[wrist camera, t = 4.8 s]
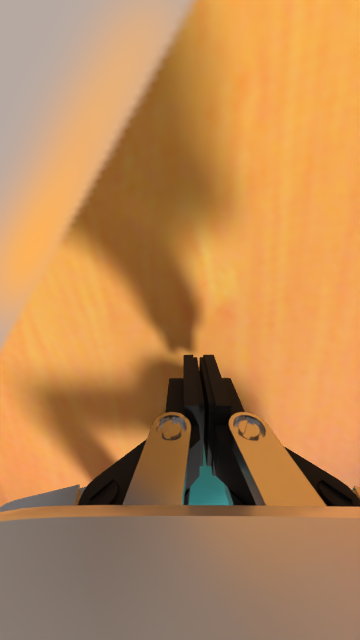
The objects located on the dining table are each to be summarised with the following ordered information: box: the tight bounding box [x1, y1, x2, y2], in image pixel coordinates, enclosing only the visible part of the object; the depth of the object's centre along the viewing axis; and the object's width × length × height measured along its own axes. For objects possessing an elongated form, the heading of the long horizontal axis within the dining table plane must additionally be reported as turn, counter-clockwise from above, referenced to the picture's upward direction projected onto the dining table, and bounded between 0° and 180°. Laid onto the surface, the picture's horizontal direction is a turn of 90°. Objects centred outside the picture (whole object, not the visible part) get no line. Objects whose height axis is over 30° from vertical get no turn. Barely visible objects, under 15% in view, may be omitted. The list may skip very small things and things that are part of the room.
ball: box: [189, 448, 229, 505], centre depth 11 cm, size 6×6×6 cm
